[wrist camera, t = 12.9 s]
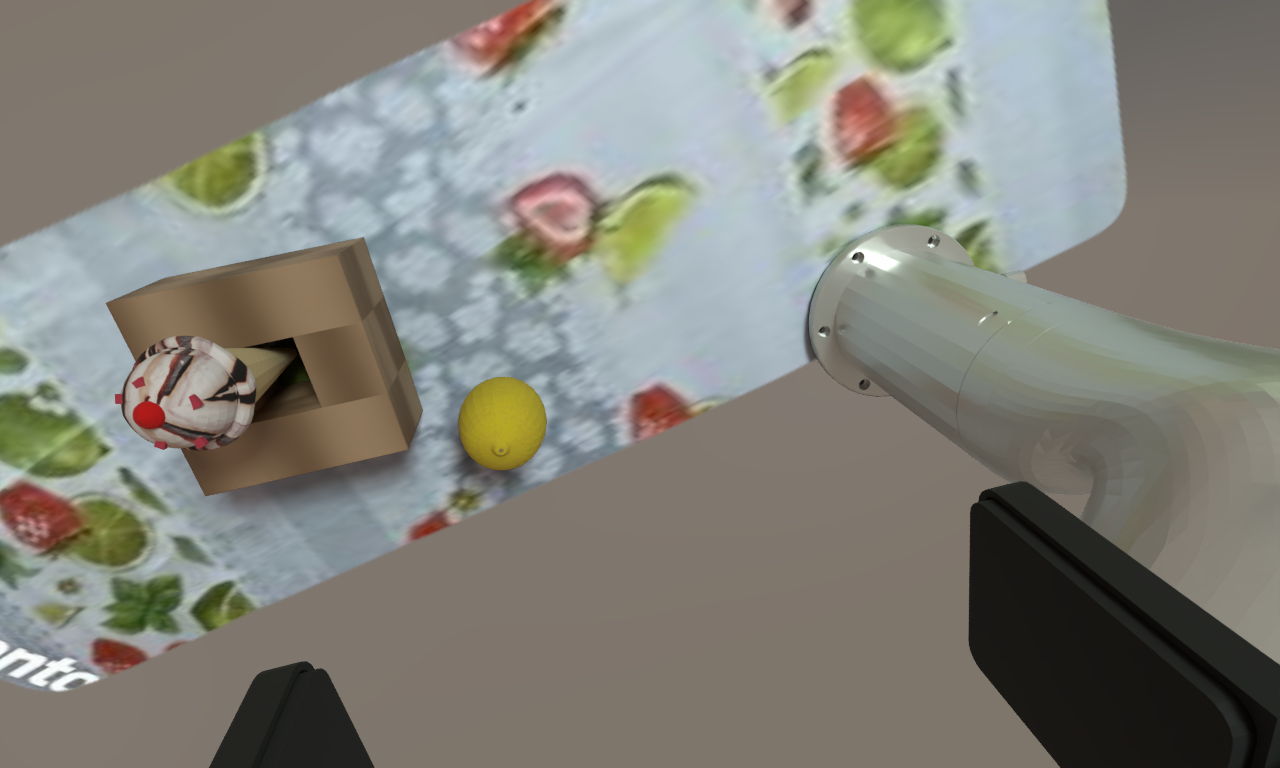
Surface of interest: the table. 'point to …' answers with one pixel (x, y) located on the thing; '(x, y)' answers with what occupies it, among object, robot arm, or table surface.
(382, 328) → the cone stand
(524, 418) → the lemon
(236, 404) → the ice cream cone
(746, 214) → the table surface
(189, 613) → the table surface
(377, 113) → the table surface
